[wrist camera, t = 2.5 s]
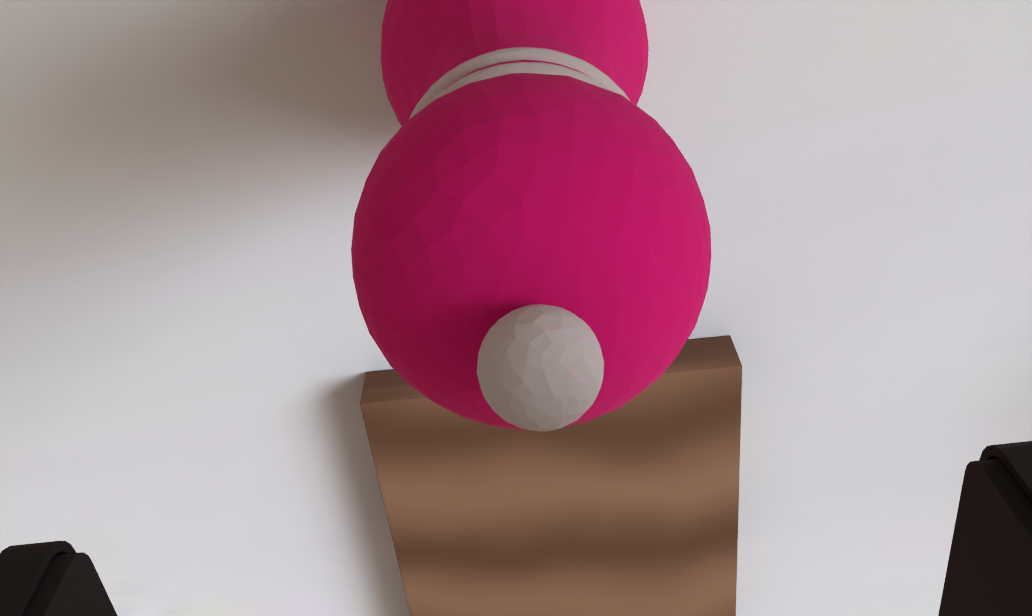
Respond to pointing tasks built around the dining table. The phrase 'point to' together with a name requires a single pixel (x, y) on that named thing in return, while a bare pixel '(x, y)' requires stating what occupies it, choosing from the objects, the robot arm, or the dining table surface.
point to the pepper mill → (527, 212)
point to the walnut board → (568, 499)
